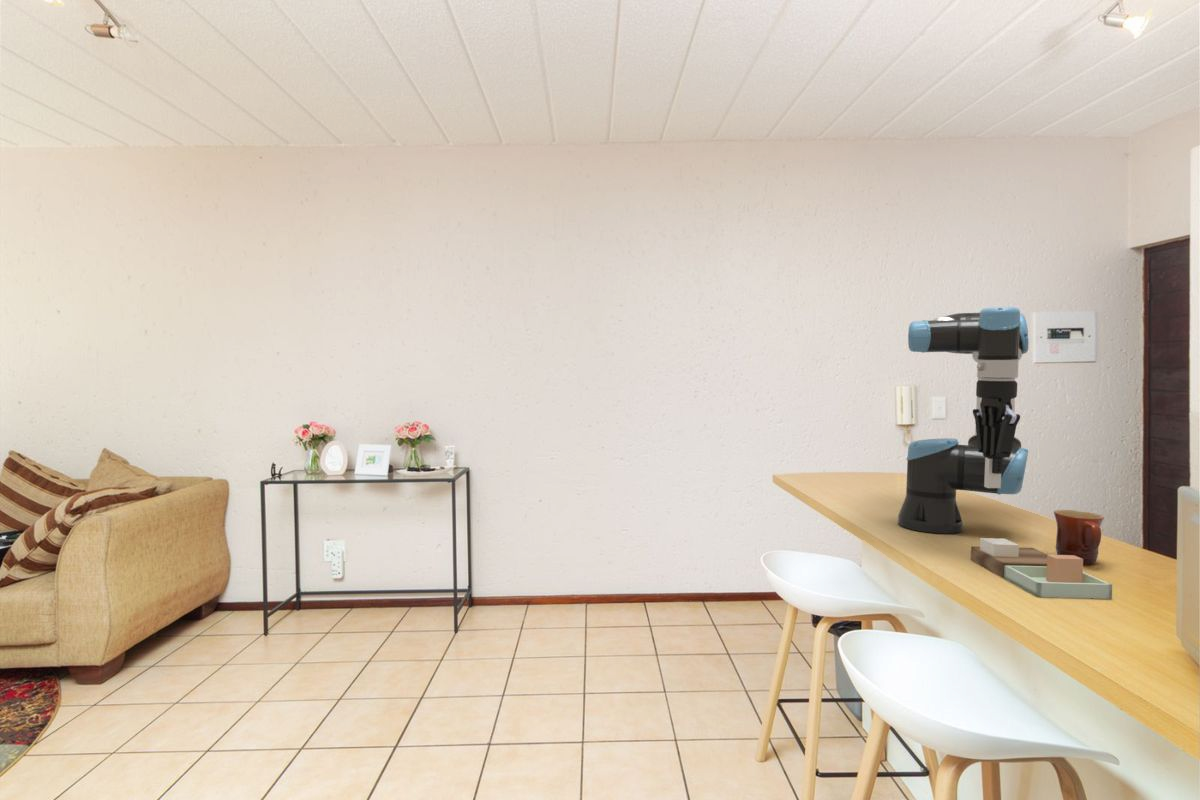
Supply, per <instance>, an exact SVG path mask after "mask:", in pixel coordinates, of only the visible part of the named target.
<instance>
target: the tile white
mask: <svg viewBox="0 0 1200 800" xmlns="http://www.w3.org/2000/svg"><path fill="white" fill-rule="evenodd" d="M979 547H980V550H982V551H984V552H986V553H987V554H989V555H991V556H995V557H1018V554H1019V548H1020V545H1019V544H1017V543H1015V542H1014V541H1011V540H1008V539H1007V538H993V537H991V538H989V537H980V539H979Z"/></svg>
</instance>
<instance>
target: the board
mask: <svg viewBox="0 0 1200 800" xmlns="http://www.w3.org/2000/svg"><path fill="white" fill-rule="evenodd" d="M1047 555H1049V554H1048V553H1046V552H1043V551H1041V550H1038V549H1036V548H1034V547H1019V554H1018V557H995V556H991V555H989V554H987V553H986V552H984V551H982V550H980V546H971V547H970V561H971V562H973V563H975V564H977V565H979V566H981V567H983V568H984V569H985V570H988V571H990V572H992V573H993V574H995V575H997V576H999V577H1000V578H1002V579H1004V565H1011V566H1047Z"/></svg>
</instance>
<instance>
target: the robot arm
mask: <svg viewBox="0 0 1200 800" xmlns="http://www.w3.org/2000/svg"><path fill="white" fill-rule="evenodd" d="M1028 334H1029V330H1028V324H1027V319H1026V317H1025V315H1024V314H1023V313H1022V312H1021V311H1020V309H1019V308H1018V307H1015V306H1014V307H1012V306H1008V307H1007V306H1004V307H1003V306H1001V307H999V306H998V307H985V308H983V309H981V310H980V311H979V312H961V313H953V314H949V315H944V316H940V317H936V318H934V319H931V320H926V319H925V320H916V321H912V322H910V323H909V325H908V333H907V335H908V336H907V337H908V338H907V341H908V342H907V343H908V350H909V351H911V352H915V353H916V352H917V353H951V354H961V355H962V354H965V355H967V354H968V355H972V359H973V361H975V362H976V363H977V365H976V368H977V372H976V374H977V375H976V377H977V381H976V386H975V387H976V388H975V391H976V393H975V396H976V407H975V408H973V410H972V414H973V418H974V422H975V429H974V431H975V433H974V434H972V436H970V437H969V438H968V440H967V444H960V442H959V441H958V439H957V438H931V439H930V438H929V439H920V440H919V439H918V440H915V441H912V442H910V443H909V445H908V449H907V457H906V461H907V465H906V469H907V470H906V490H905V491H906V493H905V498H904V500H903V502H902V505H901V508H900V509H899V512H898V516H897V524H898V525H899V526H900V527H902V528H906V529H909V530H912V531H917V532H922V533H923V532H924V533H930V534H944V535H945V534H947V533H948V535H949V534H958V533H961V532H963V525H964V522H963V518H962V516H961V512H960V509H959V505H958V503H957V490H958V491H967V492H977V493H986V494H997V495H1017V494H1019V493H1020V492H1021V491H1022V488H1023V483H1024V479H1025V477H1024V476H1025V471H1026V467H1027V466H1026V465H1027V461H1028V456H1029V449H1027V448H1024V447H1022V442H1021V440H1020V439H1019V438H1017V437H1016V436H1015V435H1016V429H1017V425H1018V423H1019V421H1020V420H1021V415H1020V414H1019V413H1017V414H1016V413H1015V412H1016V411H1015V404H1016V403H1015V402H1016V400H1015V398H1017V396H1018V382H1017V381H1016V379H1017V378H1018V377H1019V361H1020V360H1021V358H1022V357H1023V355H1024V354H1027V353H1028V351H1029V335H1028Z"/></svg>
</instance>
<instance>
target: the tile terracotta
mask: <svg viewBox="0 0 1200 800" xmlns="http://www.w3.org/2000/svg"><path fill="white" fill-rule="evenodd" d="M1083 570H1084V565H1083V559H1082V558H1079V557H1077V556H1074V555H1057V554H1048V555H1047V573H1046V580H1047V581H1049V582H1062V583H1082V575H1083V572H1084V571H1083Z"/></svg>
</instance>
